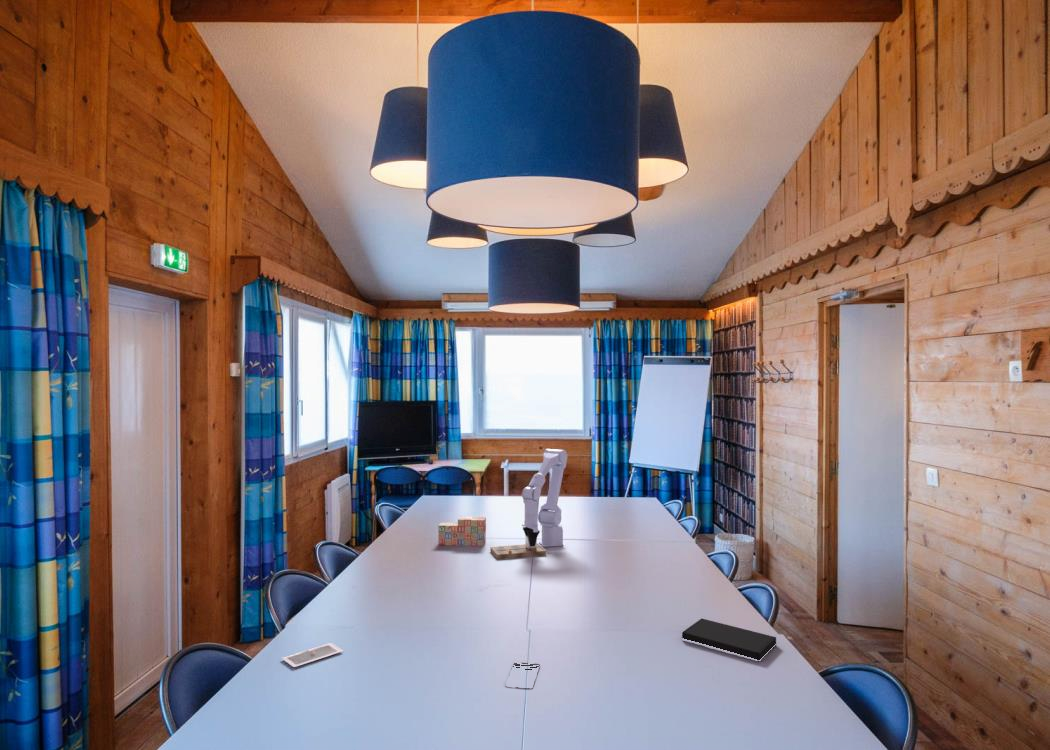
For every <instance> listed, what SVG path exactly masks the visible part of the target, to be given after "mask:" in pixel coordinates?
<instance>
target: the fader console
mask: <svg viewBox="0 0 1050 750" xmlns="http://www.w3.org/2000/svg"><path fill="white" fill-rule="evenodd" d="M489 548H490V549H489V550H490V551H491V552H490V551H489V552H490V553H491V554H492V555H493V557H494V558H495V557H496V558H497V559H496V558H495V559H496V560H506V559H505V558H508V559H515V558H514V557H520V558H527V557H526V556H533V557H542V556H544V555H545V556H547V551H546V549H545V548H544V547H543V546H542V545H541V544H540V543H537V548H535V549H527V548H526V547H525V544H514V545H503V546H501V545H500V546H490V547H489Z"/></svg>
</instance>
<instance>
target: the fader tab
mask: <svg viewBox="0 0 1050 750" xmlns="http://www.w3.org/2000/svg"><path fill="white" fill-rule="evenodd" d="M524 536H525V538H524V539H525V543H524V545H525V547H526V548H527V549H535V548H537V544H538V541H537V540H536V544H535V546H530V543H529V537H528V535H525V534H524Z"/></svg>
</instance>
